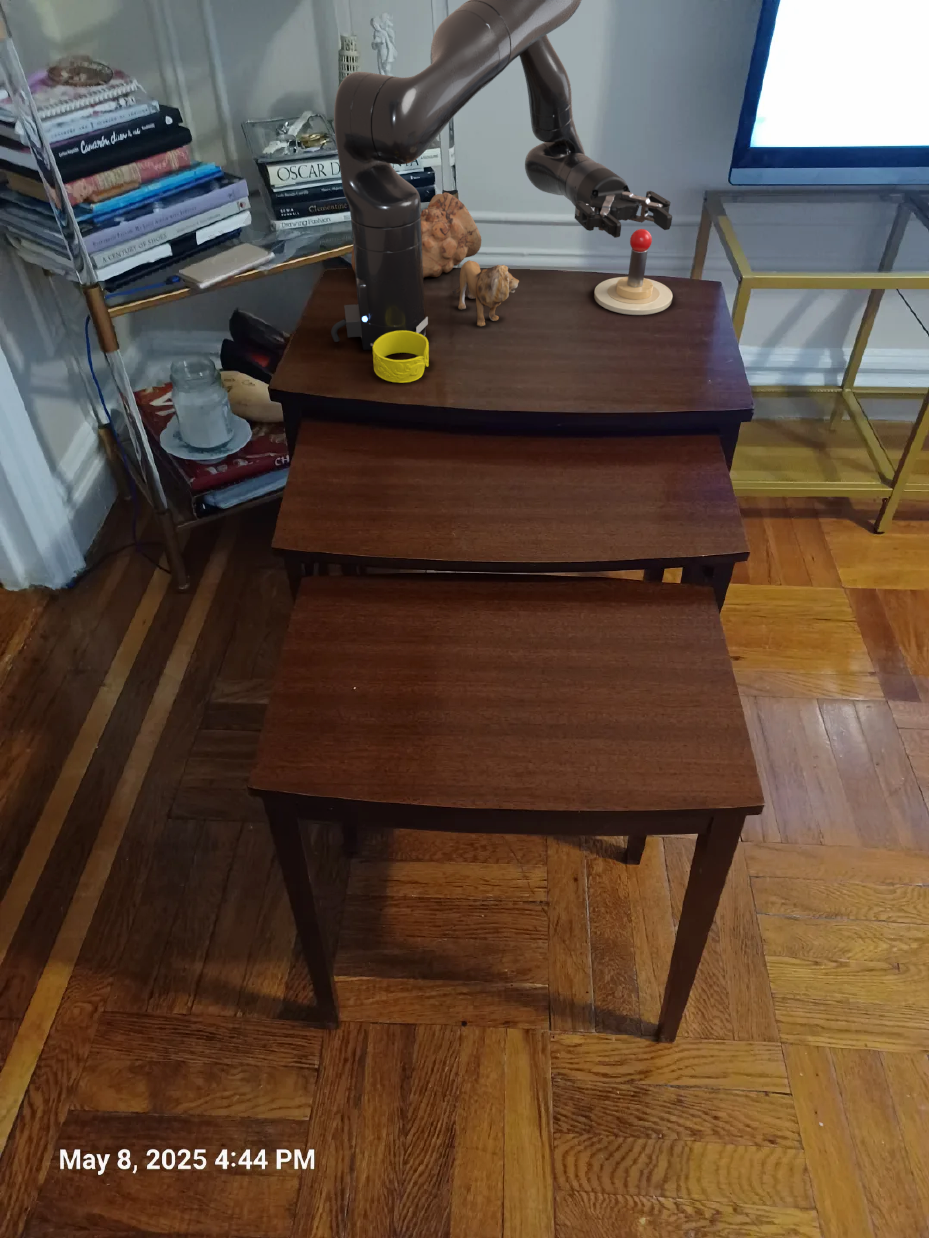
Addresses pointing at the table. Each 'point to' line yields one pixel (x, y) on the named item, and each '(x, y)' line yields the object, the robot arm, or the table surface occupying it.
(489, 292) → the lion figurine
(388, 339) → the bracelet
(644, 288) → the red ball post
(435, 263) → the brown bumpy lump
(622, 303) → the plate
